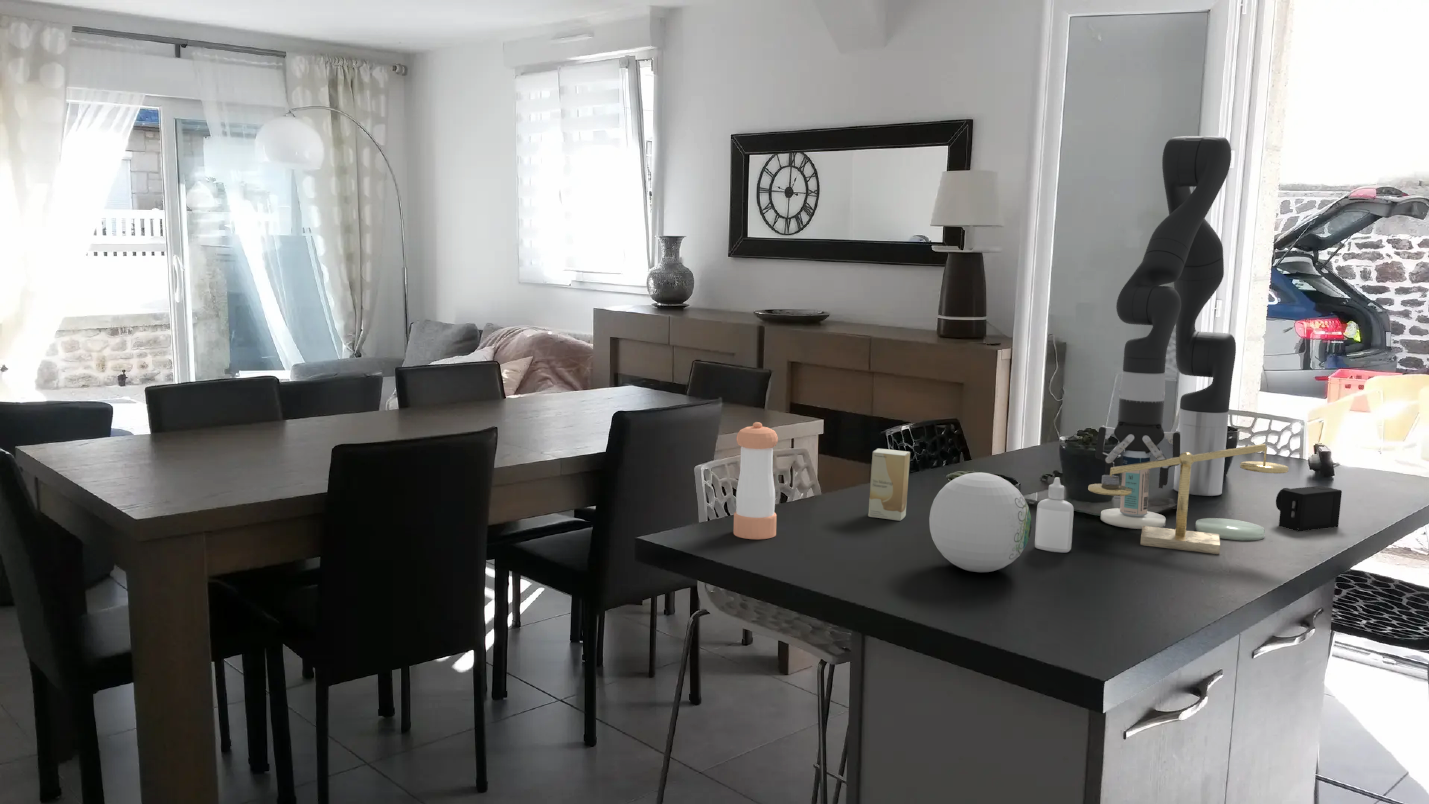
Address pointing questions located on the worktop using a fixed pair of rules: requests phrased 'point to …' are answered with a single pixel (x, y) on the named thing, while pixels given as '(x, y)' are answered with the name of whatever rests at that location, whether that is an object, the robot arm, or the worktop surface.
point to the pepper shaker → (756, 484)
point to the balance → (1182, 497)
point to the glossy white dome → (1132, 519)
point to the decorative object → (980, 522)
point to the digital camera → (1309, 508)
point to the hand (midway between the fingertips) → (1135, 485)
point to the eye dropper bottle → (1054, 521)
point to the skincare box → (889, 484)
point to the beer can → (1135, 485)
